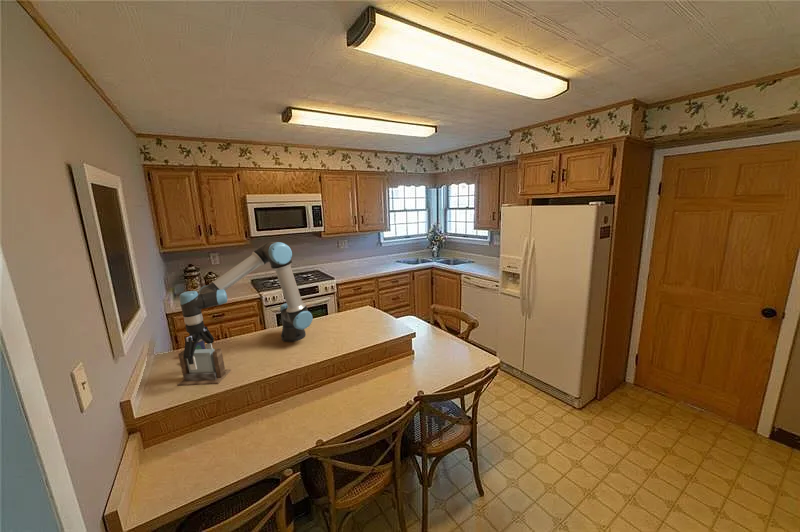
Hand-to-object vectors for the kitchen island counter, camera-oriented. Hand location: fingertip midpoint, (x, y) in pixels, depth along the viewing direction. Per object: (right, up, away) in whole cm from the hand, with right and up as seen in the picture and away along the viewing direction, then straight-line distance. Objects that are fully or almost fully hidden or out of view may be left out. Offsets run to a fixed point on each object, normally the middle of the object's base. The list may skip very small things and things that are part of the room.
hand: (202, 362), depth 155 cm
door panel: (0, -8, +1) cm, 8 cm away
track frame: (0, -9, +2) cm, 9 cm away
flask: (-20, -5, +26) cm, 33 cm away
